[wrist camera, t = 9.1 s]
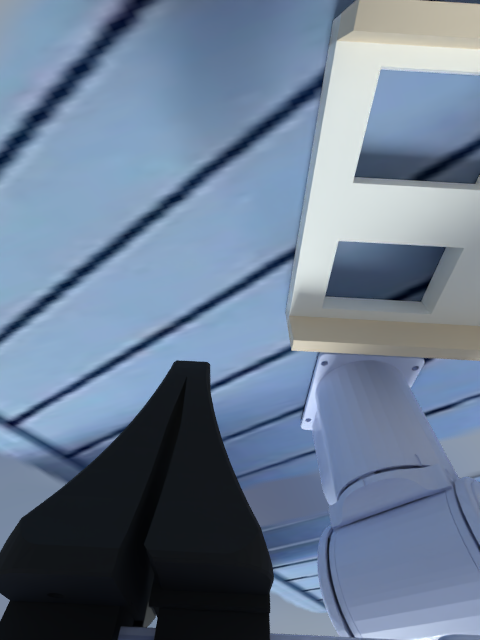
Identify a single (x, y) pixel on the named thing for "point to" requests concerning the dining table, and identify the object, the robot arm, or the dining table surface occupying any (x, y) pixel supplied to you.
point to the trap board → (387, 193)
